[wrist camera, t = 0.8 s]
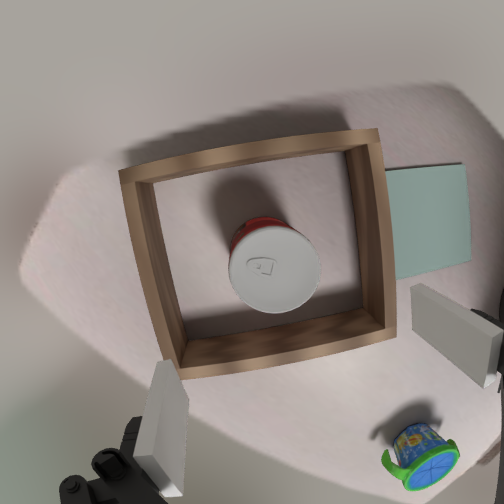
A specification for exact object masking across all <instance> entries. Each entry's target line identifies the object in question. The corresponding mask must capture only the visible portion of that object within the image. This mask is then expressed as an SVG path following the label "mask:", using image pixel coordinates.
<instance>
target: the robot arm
mask: <svg viewBox="0 0 504 504" xmlns="http://www.w3.org/2000/svg"><path fill="white" fill-rule="evenodd" d="M410 291H411V309H412V330H413V331H414V332H415V333H417V334H418V335H419V336H420V337H422V338H423V339H424V340H425V341H427V342H428V343H429V344H430V345H431V346H433V347H434V348H435V349H436V350H438V351H439V352H440V353H441V354H442V355H444V356H445V357H446V358H447V359H448V360H450V361H451V362H452V363H453V364H454V365H456V366H457V367H458V368H459V369H460V370H462V371H463V372H464V373H465V374H466V375H467V376H469V377H470V378H471V379H472V380H473V381H475V382H476V383H477V384H478V385H479V386H480V387H482V388H483V389H484V388H486V387H487V386H489V385H490V384H491V383H493V382H494V381H495V377H496V373H497V371H498V372H500V373H501V374H502V376H501V380H500V384H499V388H498V393H500V389H501V405H502V428H501V452H500V466H499V476H498V484H497V491H496V498H495V503H494V504H504V291H503V294H502V298H501V304H500V321H498V320H496V319H494V318H493V317H491V316H488V314H486V313H484V312H482V311H479V310H475V309H471V310H469V309H467V308H465V307H463V306H462V305H460V304H458V303H456V302H455V301H453V300H451V299H449V298H447V297H446V296H444V295H442V294H440V293H438V292H437V291H435V290H433V289H431V288H429V287H428V286H426V285H424V284H422V283H420V284H417V285H415V286H412V287H410ZM188 410H189V398H188V395H187V393H186V391H185V389H184V387H183V385H182V382H181V380H180V378H179V376H178V374H177V371H176V369H175V367H174V364H173V362H172V360H171V359H168V360H164V361H159V362H157V365H156V368H155V372H154V376H153V379H152V383H151V387H150V390H149V394H148V398H147V402H146V405H145V409H144V413H143V416H140V417H133V418H132V419H131V420H130V422H129V423H128V424H127V426H126V429H125V432H124V434H125V435H124V436H123V439H122V440H123V441H122V443H121V446H120V450H118V449H115V448H107V449H104V450H102V451H100V452H98V453H97V454H96V455H95V456H94V458H93V459H92V463H91V465H92V468H93V470H94V471H95V472H96V473H97V474H98V475H99V477H100V478H99V479H95V480H91V481H86V480H85V479H84V478H83V477H82V476H80V475H72V476H69V477H67V478H65V479H64V480H63V481H62V483H61V484H60V487H59V493H60V500H61V504H168V503H167V502H166V501H165V500H164V499H163V498H162V497H161V496H160V495H159V491H160V492H161V493H162V494H163V495H164V496H165V497H174V496H183V485H184V466H185V450H186V436H187V422H188Z"/></svg>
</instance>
